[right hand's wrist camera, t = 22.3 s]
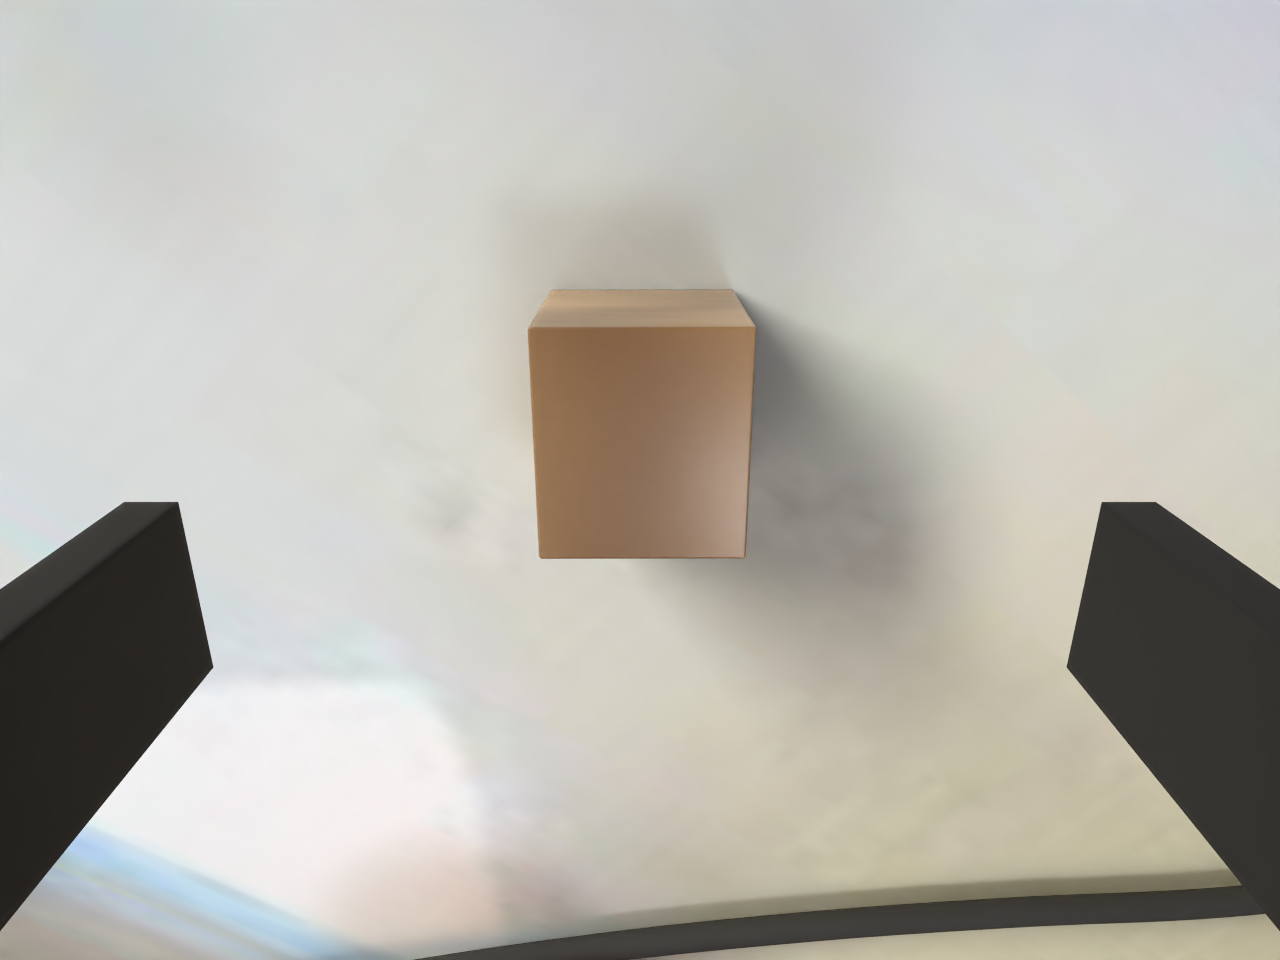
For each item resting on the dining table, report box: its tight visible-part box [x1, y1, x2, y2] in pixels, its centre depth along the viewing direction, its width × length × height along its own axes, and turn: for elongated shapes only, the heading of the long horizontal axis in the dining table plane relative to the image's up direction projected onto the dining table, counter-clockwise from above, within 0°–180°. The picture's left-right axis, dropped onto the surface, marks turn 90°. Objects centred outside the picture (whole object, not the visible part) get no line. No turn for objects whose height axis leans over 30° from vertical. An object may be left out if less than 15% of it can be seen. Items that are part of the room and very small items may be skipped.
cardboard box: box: [528, 290, 757, 559], centre depth 20 cm, size 5×5×5 cm
